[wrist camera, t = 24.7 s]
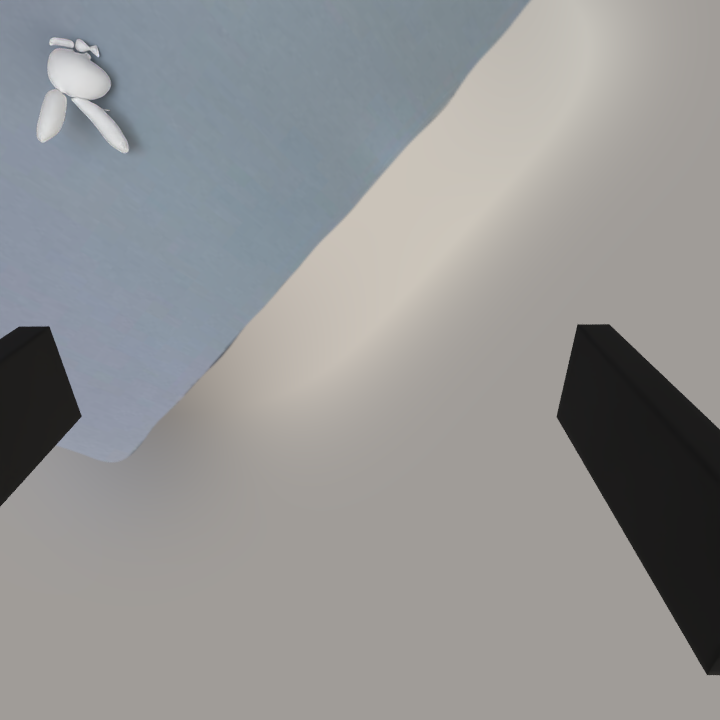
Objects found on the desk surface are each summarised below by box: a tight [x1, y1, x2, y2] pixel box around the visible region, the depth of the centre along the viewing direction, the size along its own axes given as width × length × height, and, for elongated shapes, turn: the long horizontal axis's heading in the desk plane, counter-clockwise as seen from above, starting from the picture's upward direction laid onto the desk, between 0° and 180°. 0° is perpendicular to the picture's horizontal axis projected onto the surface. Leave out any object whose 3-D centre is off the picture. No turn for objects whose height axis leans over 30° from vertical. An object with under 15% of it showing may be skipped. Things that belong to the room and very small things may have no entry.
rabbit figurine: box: [37, 37, 129, 153], centre depth 36 cm, size 6×4×8 cm
